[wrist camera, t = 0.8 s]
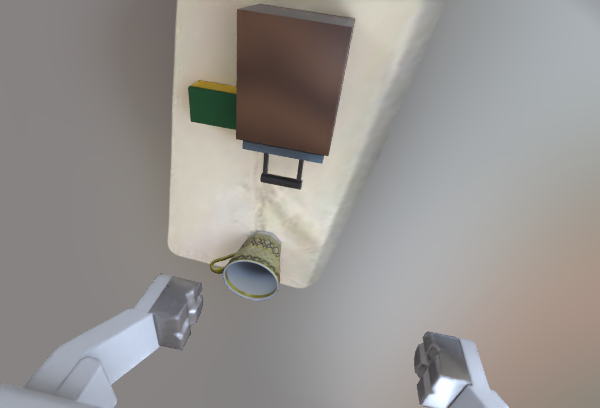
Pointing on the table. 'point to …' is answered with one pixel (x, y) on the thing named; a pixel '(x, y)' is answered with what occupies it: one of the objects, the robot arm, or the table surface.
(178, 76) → the table surface
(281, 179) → the drawer
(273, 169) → the table surface
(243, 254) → the ceramic cup
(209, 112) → the sponge
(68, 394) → the robot arm
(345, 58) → the cabinet
